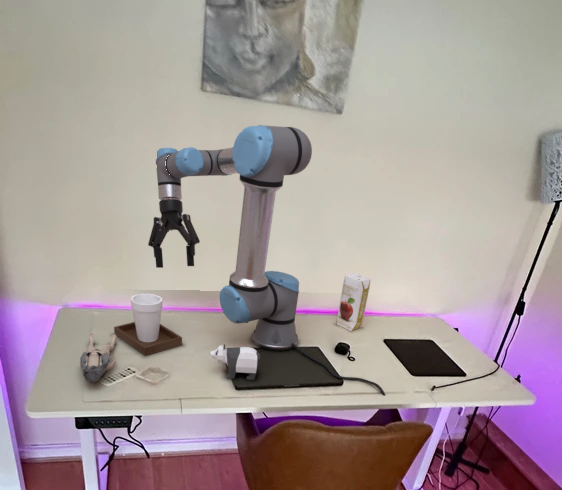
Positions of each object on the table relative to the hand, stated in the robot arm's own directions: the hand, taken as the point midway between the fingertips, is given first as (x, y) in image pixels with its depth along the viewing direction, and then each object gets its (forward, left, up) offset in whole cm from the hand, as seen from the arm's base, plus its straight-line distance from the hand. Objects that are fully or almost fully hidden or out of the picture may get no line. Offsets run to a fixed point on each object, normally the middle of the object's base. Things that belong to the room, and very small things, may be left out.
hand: (175, 267), depth 176 cm
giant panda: (-45, +11, -17) cm, 50 cm away
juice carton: (-41, -48, -17) cm, 66 cm away
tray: (-12, +19, -17) cm, 29 cm away
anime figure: (-19, +40, -17) cm, 47 cm away
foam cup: (-12, +19, -17) cm, 28 cm away
